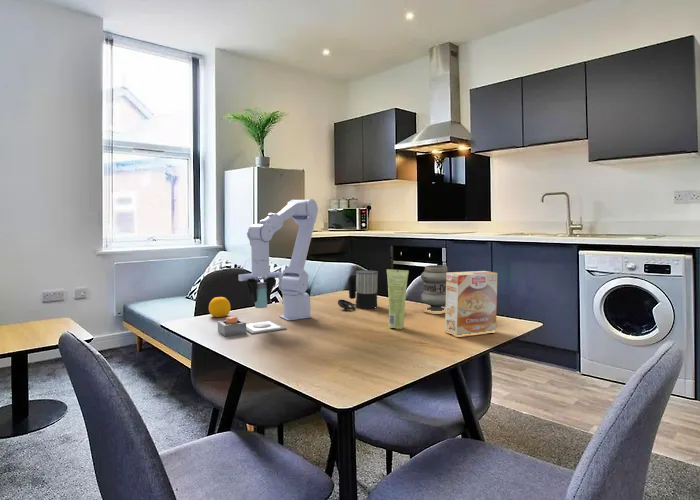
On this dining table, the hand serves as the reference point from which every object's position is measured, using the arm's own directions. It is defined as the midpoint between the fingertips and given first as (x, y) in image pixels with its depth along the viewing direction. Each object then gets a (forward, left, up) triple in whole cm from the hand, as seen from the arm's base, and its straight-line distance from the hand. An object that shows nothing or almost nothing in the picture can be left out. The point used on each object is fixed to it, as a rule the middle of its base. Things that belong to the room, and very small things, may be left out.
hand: (260, 300), depth 151 cm
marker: (0, 0, -2) cm, 2 cm away
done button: (+10, +1, -7) cm, 12 cm away
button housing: (+10, +1, -9) cm, 14 cm away
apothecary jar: (-67, +13, -9) cm, 68 cm away
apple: (+6, -25, -9) cm, 27 cm away
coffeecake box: (-53, +43, -9) cm, 69 cm away
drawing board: (0, 0, -9) cm, 9 cm away
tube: (-38, +25, -9) cm, 46 cm away
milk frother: (-45, -10, -9) cm, 47 cm away
